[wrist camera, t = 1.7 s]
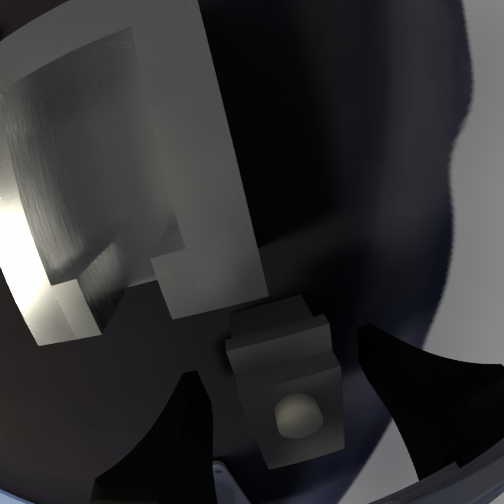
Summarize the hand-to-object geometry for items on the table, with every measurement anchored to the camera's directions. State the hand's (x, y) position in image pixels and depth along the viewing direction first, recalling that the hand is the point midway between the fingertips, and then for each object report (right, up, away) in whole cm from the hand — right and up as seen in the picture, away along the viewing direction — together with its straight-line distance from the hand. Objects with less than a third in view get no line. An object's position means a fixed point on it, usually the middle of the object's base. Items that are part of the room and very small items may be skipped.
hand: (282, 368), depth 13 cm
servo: (0, 0, +1) cm, 2 cm away
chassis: (-6, +9, -2) cm, 11 cm away
